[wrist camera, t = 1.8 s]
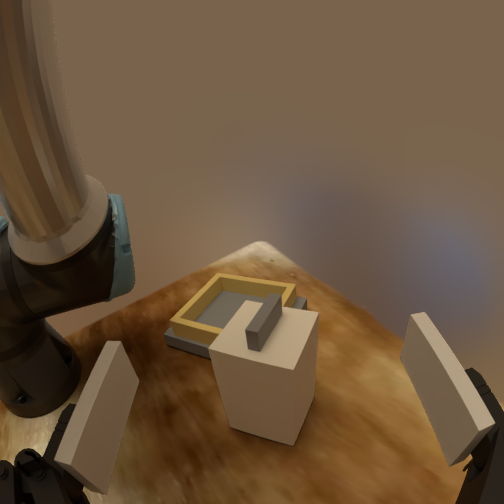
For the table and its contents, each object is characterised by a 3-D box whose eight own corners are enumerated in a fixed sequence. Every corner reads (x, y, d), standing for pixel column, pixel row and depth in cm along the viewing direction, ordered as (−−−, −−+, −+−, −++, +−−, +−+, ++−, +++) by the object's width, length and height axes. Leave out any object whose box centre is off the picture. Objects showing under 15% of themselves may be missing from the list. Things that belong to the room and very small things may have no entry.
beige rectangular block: (230, 426, 29) (203, 329, 23) (256, 381, 34) (243, 281, 28) (293, 445, 26) (293, 350, 20) (314, 395, 31) (319, 293, 25)
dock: (167, 344, 41) (158, 320, 39) (215, 293, 53) (211, 270, 51) (273, 375, 35) (271, 349, 33) (306, 309, 46) (306, 283, 44)
